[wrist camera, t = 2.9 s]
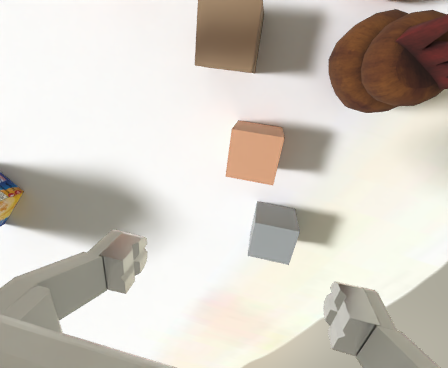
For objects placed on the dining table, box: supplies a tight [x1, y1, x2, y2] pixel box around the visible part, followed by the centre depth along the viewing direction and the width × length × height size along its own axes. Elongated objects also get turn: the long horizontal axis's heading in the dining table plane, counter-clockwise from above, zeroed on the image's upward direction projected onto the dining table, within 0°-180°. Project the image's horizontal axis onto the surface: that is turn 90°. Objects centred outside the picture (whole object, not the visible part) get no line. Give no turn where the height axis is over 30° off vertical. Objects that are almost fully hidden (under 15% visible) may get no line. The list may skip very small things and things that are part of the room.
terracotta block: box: [226, 120, 285, 185], centre depth 24 cm, size 5×5×5 cm
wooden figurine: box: [329, 9, 448, 113], centre depth 15 cm, size 7×6×15 cm
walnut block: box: [195, 0, 264, 73], centre depth 20 cm, size 5×5×5 cm
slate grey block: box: [248, 201, 300, 265], centre depth 28 cm, size 5×5×5 cm
